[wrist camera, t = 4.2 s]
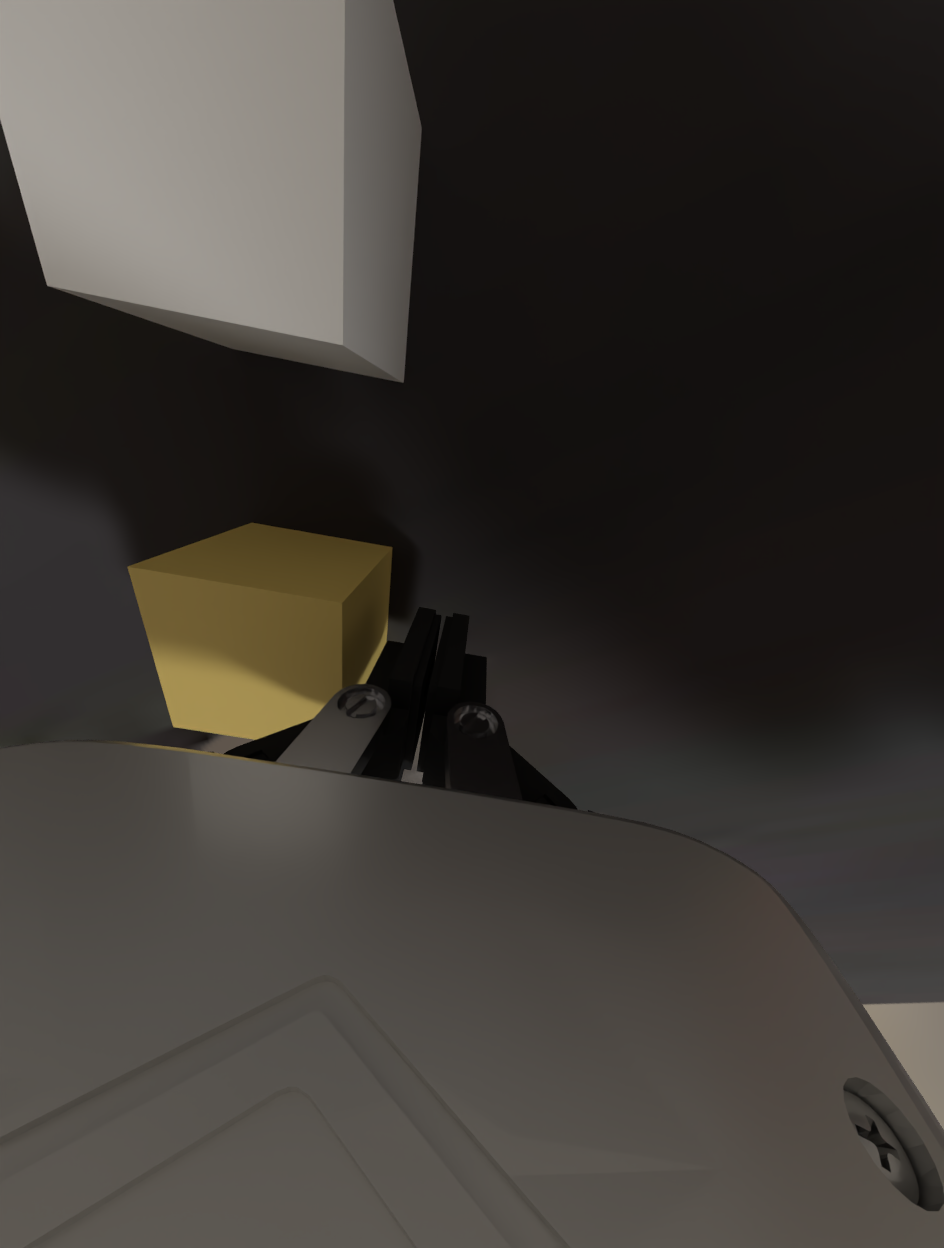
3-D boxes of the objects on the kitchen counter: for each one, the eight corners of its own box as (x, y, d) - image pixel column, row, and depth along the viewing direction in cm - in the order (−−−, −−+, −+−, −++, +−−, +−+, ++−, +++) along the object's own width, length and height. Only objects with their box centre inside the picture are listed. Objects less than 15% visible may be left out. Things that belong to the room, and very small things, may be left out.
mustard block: (392, 546, 13) (341, 603, 9) (385, 661, 15) (342, 753, 11) (253, 522, 13) (127, 566, 8) (266, 642, 15) (173, 726, 11)
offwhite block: (422, 131, 8) (346, -207, 4) (404, 383, 11) (342, 345, 6) (205, 81, 8) (-126, -330, 4) (233, 349, 11) (47, 285, 6)
